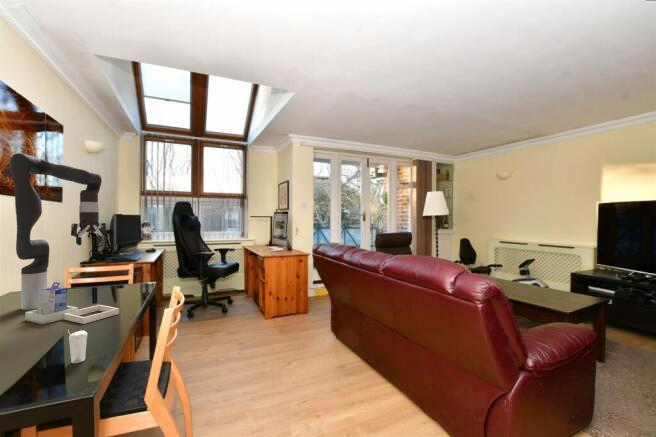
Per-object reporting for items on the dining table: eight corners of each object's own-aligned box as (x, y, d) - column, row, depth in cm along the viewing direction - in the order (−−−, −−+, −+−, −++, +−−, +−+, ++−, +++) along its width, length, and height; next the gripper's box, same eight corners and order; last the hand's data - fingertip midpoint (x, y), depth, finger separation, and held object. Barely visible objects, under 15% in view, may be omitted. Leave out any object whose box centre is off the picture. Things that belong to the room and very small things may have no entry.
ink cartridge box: (68, 314, 137) (68, 282, 137) (54, 318, 132) (54, 285, 132) (52, 312, 140) (52, 281, 140) (38, 316, 134) (38, 283, 134)
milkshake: (73, 358, 97) (73, 326, 97) (90, 357, 98) (91, 326, 98) (61, 364, 93) (62, 332, 93) (80, 364, 93) (80, 331, 93)
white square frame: (63, 319, 133) (63, 313, 133) (99, 309, 147) (99, 304, 147) (83, 324, 128) (83, 318, 128) (118, 313, 141) (118, 308, 141)
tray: (25, 320, 132) (25, 312, 132) (61, 311, 144) (61, 304, 144) (42, 324, 127) (42, 316, 127) (77, 315, 139) (77, 307, 139)
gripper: (100, 211, 158) (100, 242, 158) (67, 211, 145) (67, 245, 145) (109, 211, 155) (109, 243, 155) (76, 211, 142) (76, 245, 142)
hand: (89, 244), depth 150 cm, fingers open, 8 cm apart
